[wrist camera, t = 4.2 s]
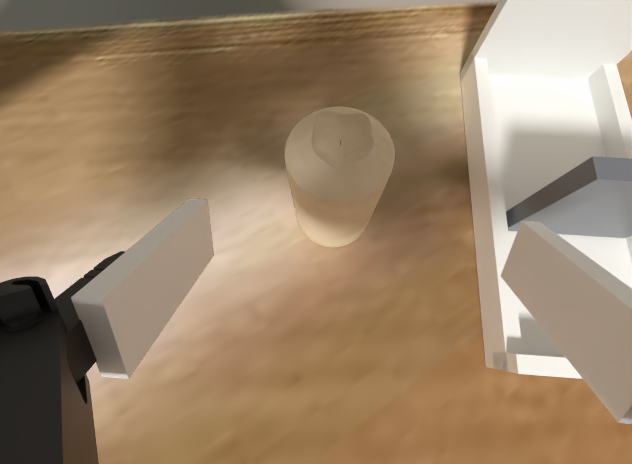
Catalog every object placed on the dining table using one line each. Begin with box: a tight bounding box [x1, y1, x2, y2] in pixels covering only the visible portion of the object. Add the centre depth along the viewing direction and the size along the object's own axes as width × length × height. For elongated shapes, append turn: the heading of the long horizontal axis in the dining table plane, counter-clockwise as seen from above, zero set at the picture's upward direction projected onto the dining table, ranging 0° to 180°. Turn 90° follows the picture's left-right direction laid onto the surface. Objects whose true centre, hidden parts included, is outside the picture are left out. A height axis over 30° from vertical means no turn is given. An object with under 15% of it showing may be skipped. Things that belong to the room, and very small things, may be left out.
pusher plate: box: [506, 156, 632, 238], centre depth 18 cm, size 8×1×8 cm, turn 86°
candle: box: [284, 106, 395, 247], centre depth 19 cm, size 6×6×10 cm
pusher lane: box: [460, 0, 632, 379], centre depth 19 cm, size 11×24×9 cm, turn 176°
